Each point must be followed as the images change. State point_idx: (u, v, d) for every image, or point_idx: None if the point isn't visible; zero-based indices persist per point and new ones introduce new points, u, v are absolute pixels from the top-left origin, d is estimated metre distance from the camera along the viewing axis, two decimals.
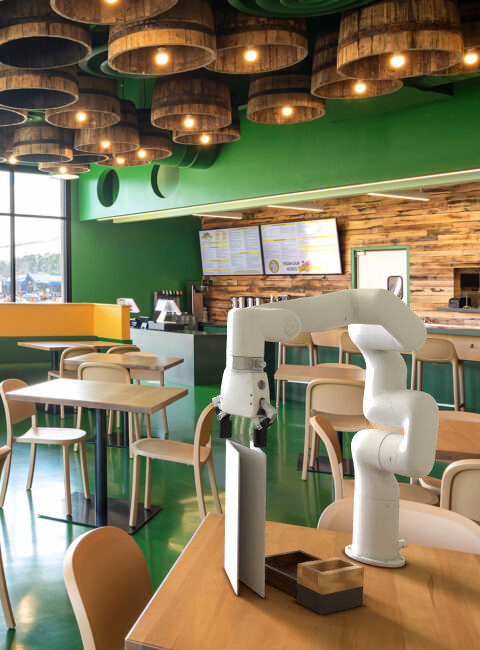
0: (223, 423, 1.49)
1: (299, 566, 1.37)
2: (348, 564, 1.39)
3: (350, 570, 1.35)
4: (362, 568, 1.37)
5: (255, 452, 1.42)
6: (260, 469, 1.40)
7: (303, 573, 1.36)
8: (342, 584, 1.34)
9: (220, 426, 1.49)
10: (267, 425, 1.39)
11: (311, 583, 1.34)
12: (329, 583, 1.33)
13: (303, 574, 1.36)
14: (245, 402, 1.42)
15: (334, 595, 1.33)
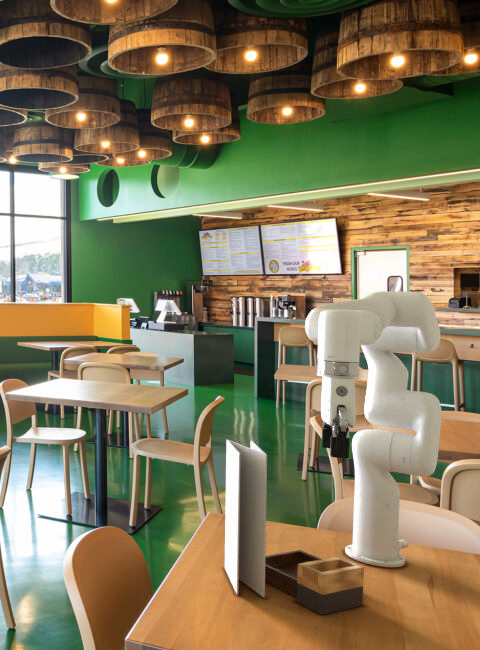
0: (325, 432, 1.41)
1: (299, 566, 1.37)
2: (348, 564, 1.39)
3: (350, 570, 1.35)
4: (362, 568, 1.37)
5: (256, 452, 1.42)
6: (261, 469, 1.40)
7: (303, 573, 1.36)
8: (342, 584, 1.34)
9: (322, 434, 1.42)
10: (341, 434, 1.30)
11: (311, 583, 1.34)
12: (329, 583, 1.33)
13: (303, 574, 1.36)
14: (326, 408, 1.35)
15: (334, 595, 1.33)
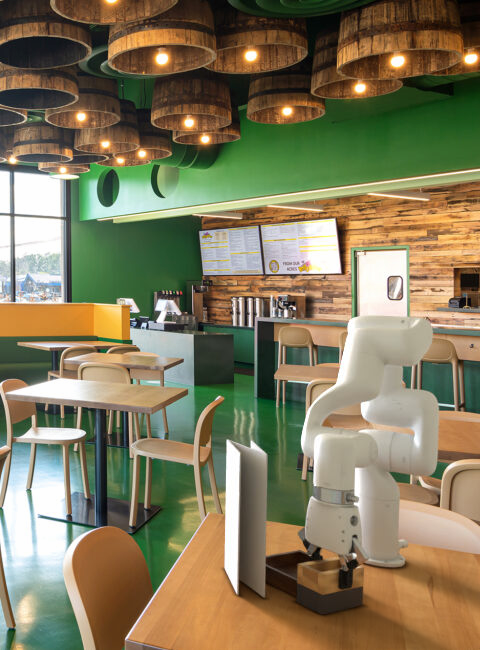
0: (314, 560, 1.40)
1: (299, 566, 1.37)
2: None
3: None
4: (362, 568, 1.37)
5: (256, 452, 1.42)
6: (261, 469, 1.40)
7: (303, 573, 1.36)
8: None
9: None
10: (354, 567, 1.32)
11: (311, 583, 1.34)
12: (329, 583, 1.33)
13: (303, 574, 1.36)
14: (336, 538, 1.34)
15: (334, 595, 1.33)
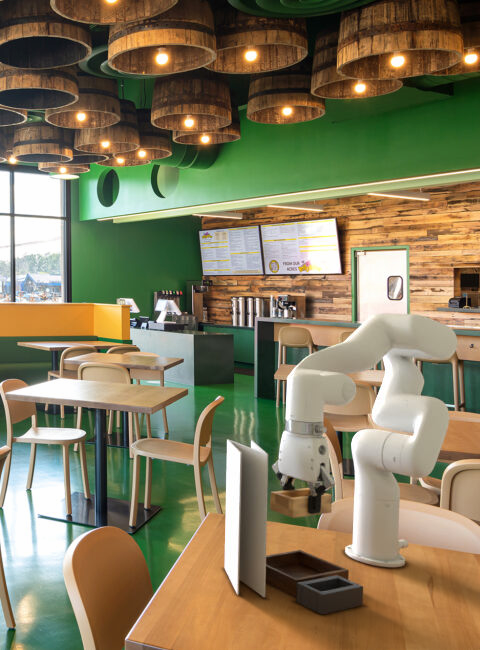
0: None
1: (272, 494, 1.48)
2: None
3: None
4: (330, 496, 1.48)
5: (257, 452, 1.42)
6: (262, 469, 1.40)
7: (275, 500, 1.47)
8: None
9: None
10: (322, 492, 1.44)
11: (283, 508, 1.46)
12: (299, 507, 1.44)
13: (275, 501, 1.47)
14: (305, 466, 1.45)
15: (334, 595, 1.33)
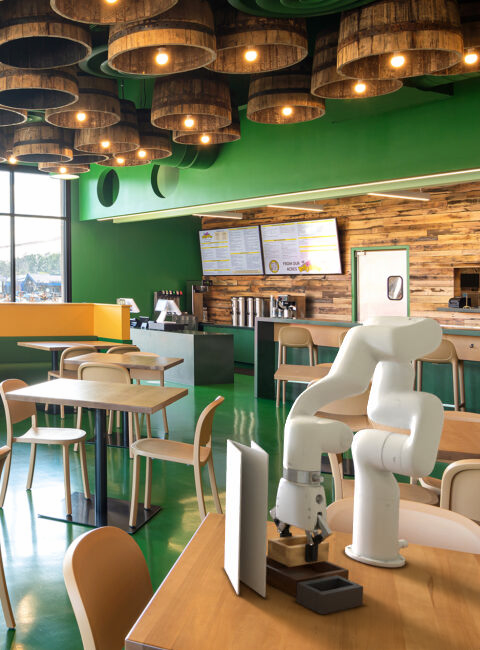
0: (283, 536, 1.51)
1: (269, 541, 1.49)
2: None
3: None
4: (327, 544, 1.48)
5: (257, 452, 1.42)
6: (262, 469, 1.40)
7: (272, 548, 1.48)
8: None
9: None
10: (319, 542, 1.44)
11: (280, 556, 1.46)
12: (295, 556, 1.44)
13: (273, 548, 1.48)
14: (303, 515, 1.45)
15: (334, 595, 1.33)
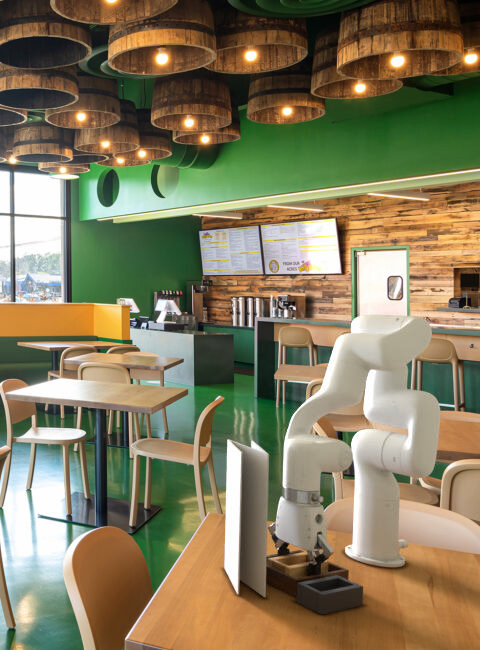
0: (281, 553, 1.52)
1: (269, 560, 1.49)
2: None
3: None
4: (327, 562, 1.48)
5: (257, 451, 1.42)
6: (262, 468, 1.40)
7: None
8: None
9: (278, 556, 1.52)
10: (322, 561, 1.43)
11: None
12: (295, 576, 1.44)
13: None
14: (302, 535, 1.45)
15: (334, 595, 1.33)
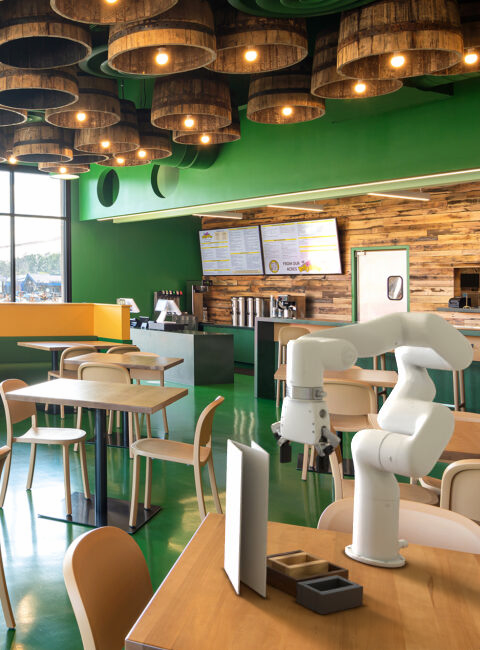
0: (283, 449, 1.56)
1: (269, 560, 1.49)
2: (314, 559, 1.50)
3: (315, 564, 1.47)
4: (327, 562, 1.48)
5: (258, 451, 1.42)
6: (263, 468, 1.40)
7: None
8: None
9: (280, 451, 1.57)
10: (330, 452, 1.47)
11: None
12: (295, 576, 1.44)
13: None
14: (307, 430, 1.49)
15: (334, 595, 1.33)
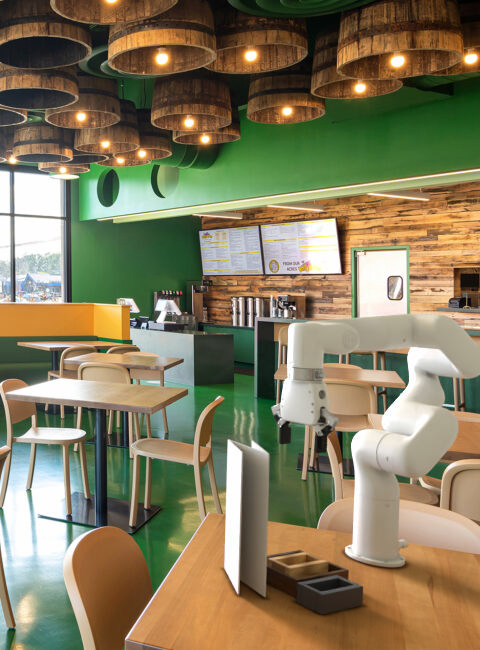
0: (283, 430, 1.59)
1: (269, 560, 1.49)
2: (314, 559, 1.50)
3: (315, 564, 1.47)
4: (327, 562, 1.48)
5: (258, 451, 1.42)
6: (263, 468, 1.40)
7: None
8: None
9: (280, 433, 1.59)
10: (328, 432, 1.49)
11: None
12: (295, 576, 1.44)
13: None
14: (306, 410, 1.52)
15: (334, 595, 1.33)
